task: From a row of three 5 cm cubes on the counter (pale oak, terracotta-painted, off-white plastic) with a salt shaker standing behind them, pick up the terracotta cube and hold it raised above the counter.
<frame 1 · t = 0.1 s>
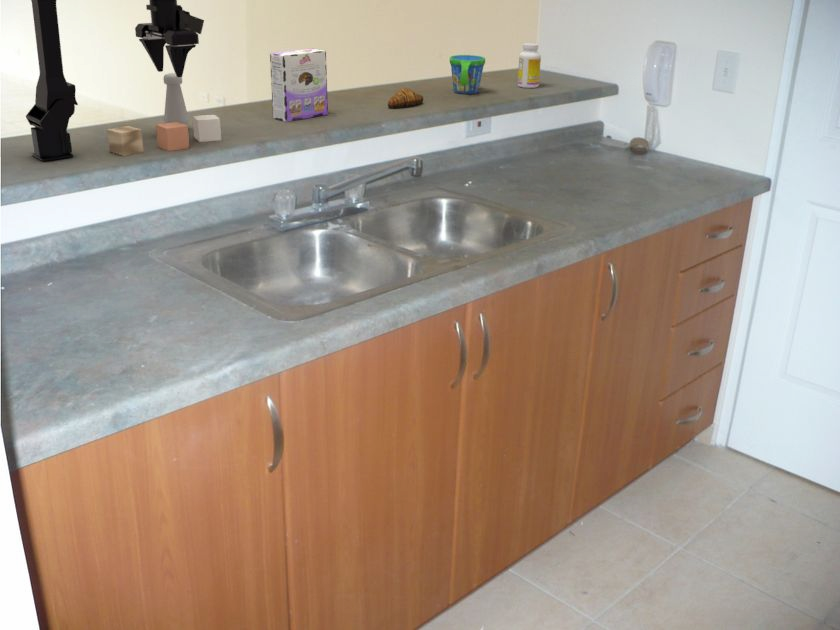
hand: (169, 74, 196), 14 cm above the worktop, tool pointing down, fingers open, 9 cm apart
snack cup: (466, 93, 265), on the worktop
off-white cube: (207, 139, 203), on the worktop
supplement bottle: (528, 87, 276), on the worktop
terracotta cube: (173, 147, 195), on the worktop
croissant: (405, 107, 244), on the worktop
oak cube: (126, 152, 191), on the worktop
cake mix box: (300, 117, 228), on the worktop
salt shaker: (177, 130, 212), on the worktop
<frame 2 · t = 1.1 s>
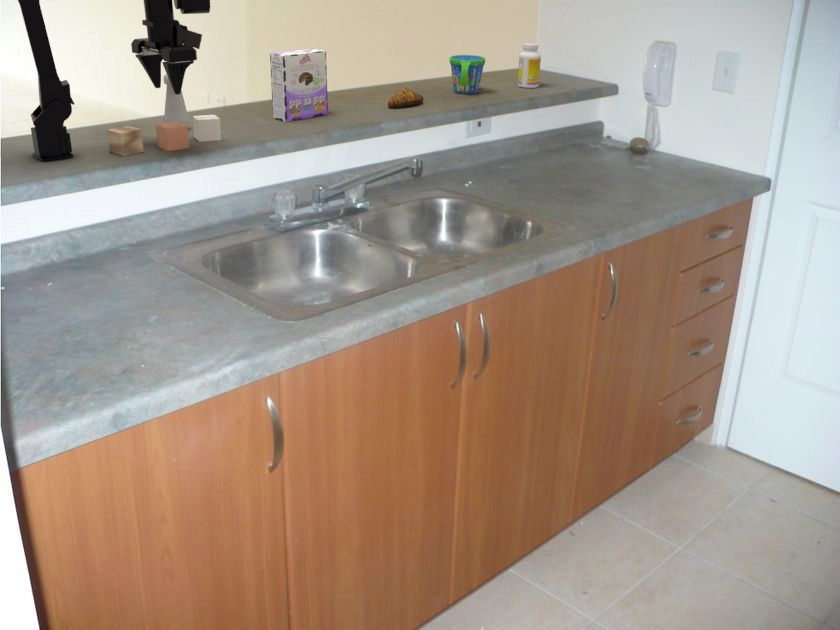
hand: (167, 91, 190), 12 cm above the worktop, tool pointing down, fingers open, 9 cm apart
nothing on the worktop moved.
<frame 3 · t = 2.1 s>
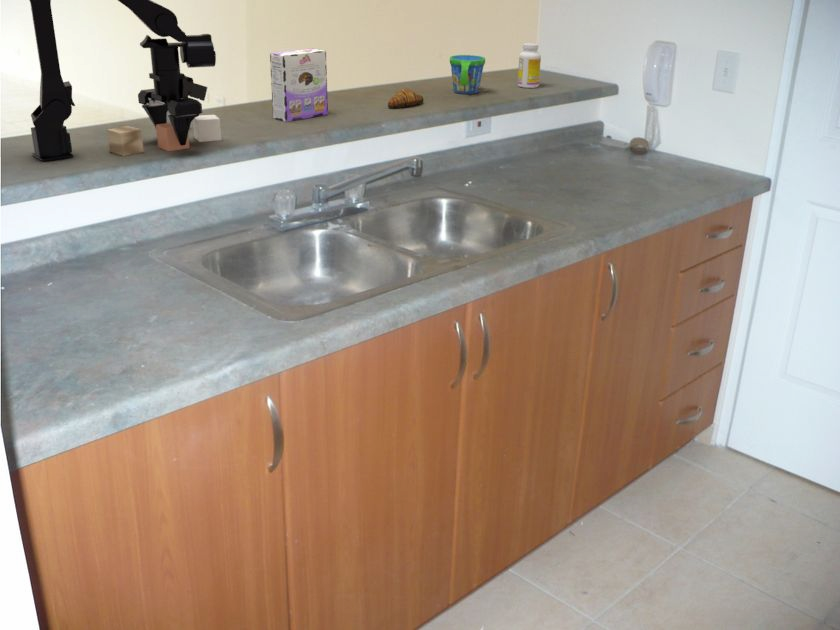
hand: (173, 141, 195), 1 cm above the worktop, tool pointing down, fingers open, 9 cm apart
nothing on the worktop moved.
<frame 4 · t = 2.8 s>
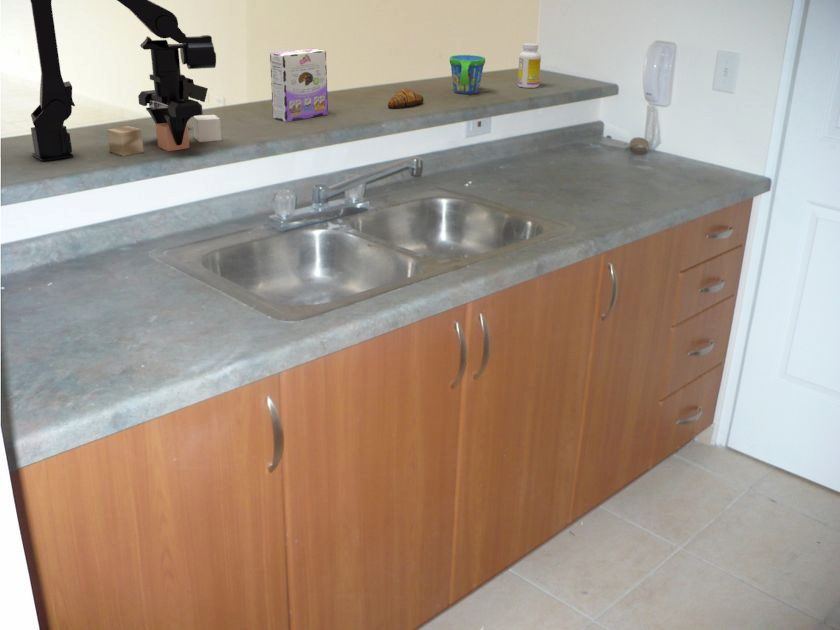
hand: (173, 142, 195), 1 cm above the worktop, tool pointing down, fingers closed on terracotta cube, 5 cm apart
terracotta cube: (173, 147, 195), on the worktop, touching gripper
everything else where it was.
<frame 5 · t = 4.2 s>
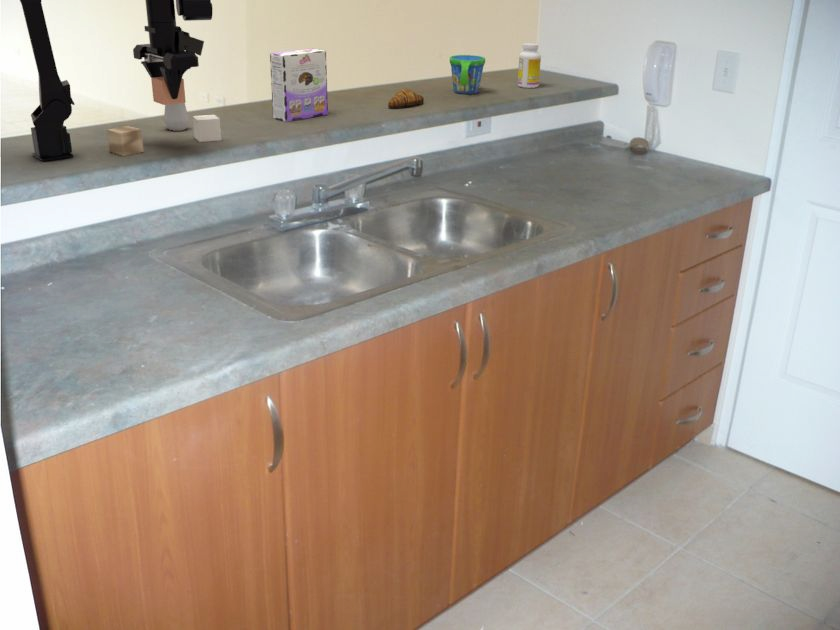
hand: (169, 97, 191), 11 cm above the worktop, tool pointing down, fingers closed on terracotta cube, 5 cm apart
terracotta cube: (169, 101, 191), point 10 cm above the worktop, touching gripper
everything else where it was.
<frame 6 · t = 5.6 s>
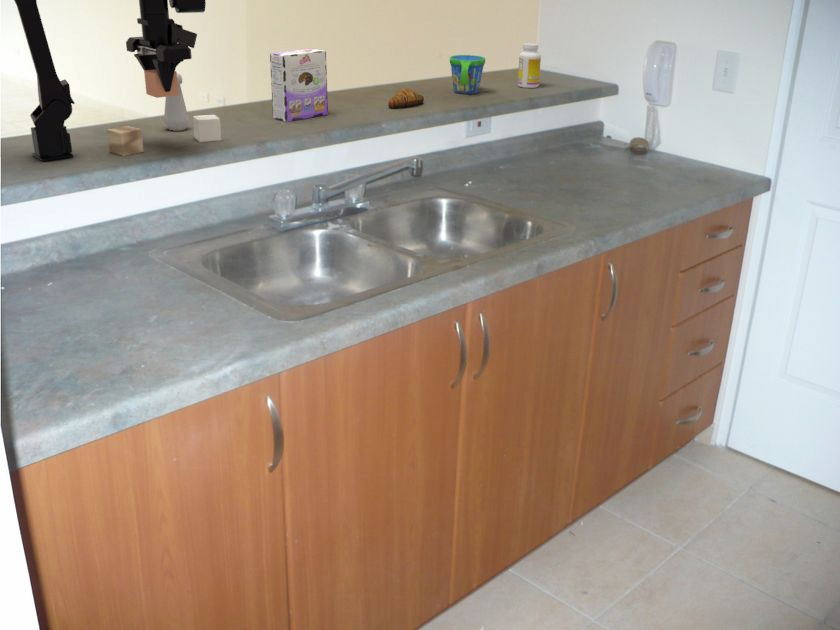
hand: (162, 89, 190), 12 cm above the worktop, tool pointing down, fingers closed on terracotta cube, 5 cm apart
terracotta cube: (162, 94, 191), point 11 cm above the worktop, touching gripper
everything else where it was.
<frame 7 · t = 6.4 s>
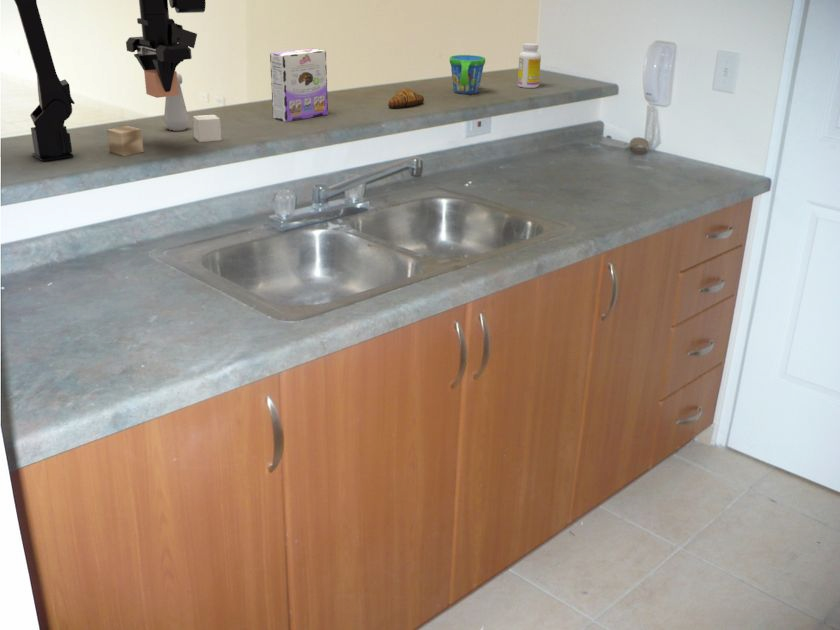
hand: (162, 89, 190), 12 cm above the worktop, tool pointing down, fingers closed on terracotta cube, 5 cm apart
terracotta cube: (162, 94, 191), point 11 cm above the worktop, touching gripper
everything else where it was.
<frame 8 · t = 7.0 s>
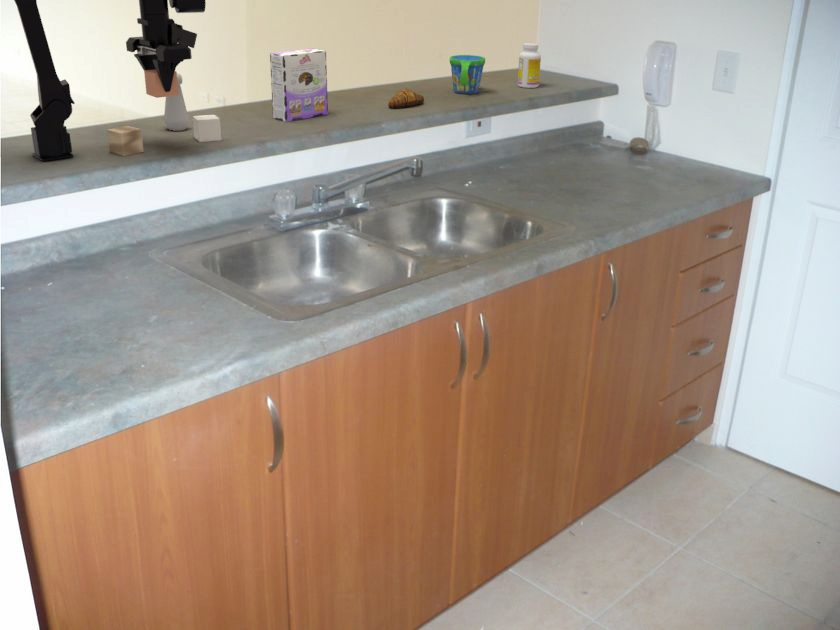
hand: (162, 89, 190), 12 cm above the worktop, tool pointing down, fingers closed on terracotta cube, 5 cm apart
terracotta cube: (162, 94, 191), point 11 cm above the worktop, touching gripper
everything else where it was.
at the end: the gripper is holding terracotta cube; terracotta cube point 11.4 cm above the worktop; oak cube moved 0.1 cm from its start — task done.
